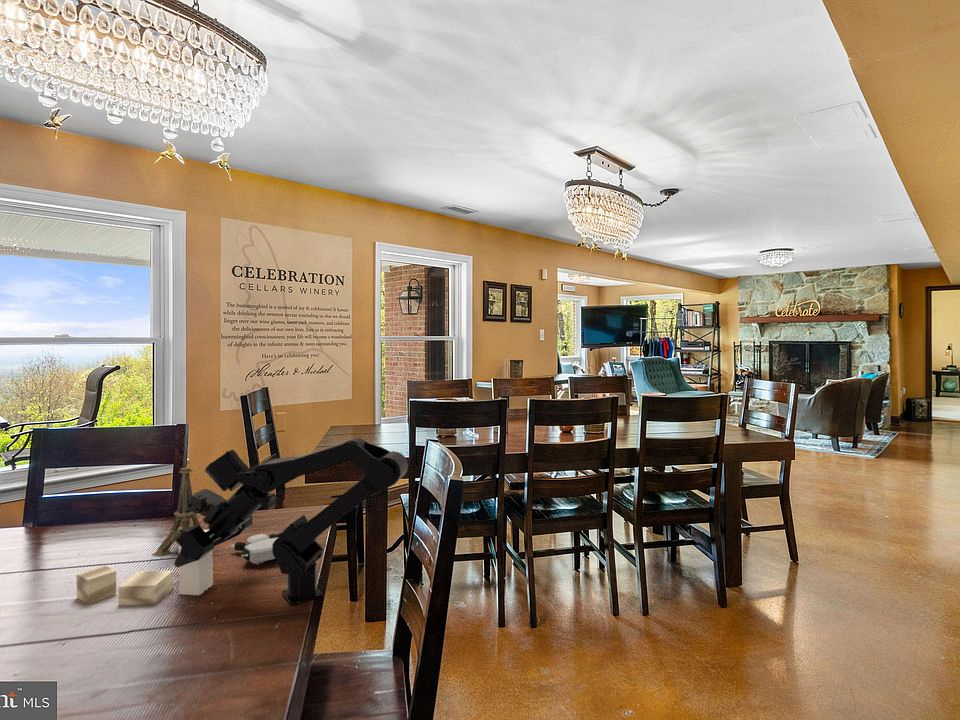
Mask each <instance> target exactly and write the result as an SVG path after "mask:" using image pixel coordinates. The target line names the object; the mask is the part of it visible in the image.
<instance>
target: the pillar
mask: <svg viewBox="0 0 960 720" xmlns="http://www.w3.org/2000/svg"><path fill="white" fill-rule="evenodd" d="M203 530H204V531H205V532H207V531H209V530H210V529H203ZM210 538H211V537H210ZM177 544H178V543H177ZM181 548H182V547H181V546H180V545H179V544H178V554H179V553H180V551H181ZM213 558H214V557H213V550H212V551H211V552H209V553H208V554H207V555H206V556H205V557H203V558H201V559H200V560H198V561H194V562H191V563H188V564H186V565H183V566H181V567H178V595H185V596H187V595H189V596H200V595H202V594H203V593H204V591H205V590H206V591H207V590H208V588H209V587H210V588H211V587H213V586H212V585H214V581H213V579H214V578H213V577H214V576H213V574H214V573H213V569H214V568H213V563H214V561H213ZM210 588H209V589H210ZM206 591H205V592H206Z"/></svg>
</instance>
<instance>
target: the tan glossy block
mask: <svg viewBox="0 0 960 720" xmlns="http://www.w3.org/2000/svg"><path fill="white" fill-rule="evenodd" d="M117 587H118V588H117V589H118V592H117V593H118V606H135V605H136V606H139V605H140V606H142V605H157V604H158V603H159V602H160V601H161V600H162V599H163V598H164V597H165V596H166V595H167V594H169V592H171V591H172V590H173V589H174V570H148V571H147V570H146V571H145V570H144V571H143V570H142V571H137V572H136V573H134V574H133V575H132V576H130V577H129V578H128V579H126V580H125V581H124V582H123V583H121V584H120V585H118V586H117Z"/></svg>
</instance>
